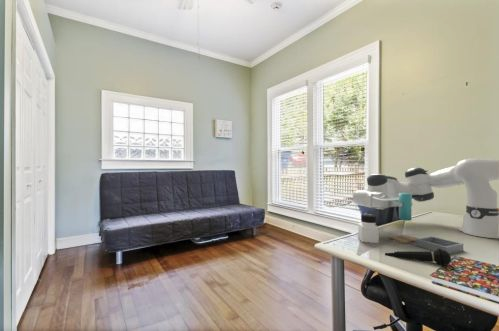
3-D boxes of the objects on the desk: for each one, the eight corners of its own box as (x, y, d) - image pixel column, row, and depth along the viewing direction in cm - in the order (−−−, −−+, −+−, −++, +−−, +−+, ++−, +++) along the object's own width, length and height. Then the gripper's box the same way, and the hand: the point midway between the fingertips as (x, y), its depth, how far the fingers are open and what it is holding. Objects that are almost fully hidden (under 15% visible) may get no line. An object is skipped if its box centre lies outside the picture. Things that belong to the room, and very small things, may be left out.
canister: (403, 217, 117) (403, 192, 117) (413, 220, 112) (414, 194, 112) (396, 218, 115) (396, 193, 115) (406, 220, 110) (407, 194, 110)
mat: (404, 236, 120) (404, 234, 120) (421, 240, 112) (421, 239, 112) (388, 239, 115) (388, 237, 115) (405, 244, 107) (405, 242, 107)
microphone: (386, 264, 92) (453, 270, 82) (384, 251, 91) (452, 255, 81) (385, 256, 97) (449, 260, 87) (383, 243, 95) (448, 245, 86)
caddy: (431, 242, 110) (431, 236, 110) (463, 250, 100) (463, 243, 100) (415, 245, 105) (415, 239, 105) (446, 254, 95) (446, 247, 95)
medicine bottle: (379, 243, 108) (379, 216, 108) (361, 242, 109) (362, 215, 109) (374, 238, 115) (374, 213, 115) (358, 237, 116) (358, 212, 116)
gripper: (393, 205, 130) (420, 210, 117) (366, 207, 121) (392, 212, 109) (393, 193, 130) (421, 196, 117) (366, 195, 121) (392, 198, 109)
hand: (407, 204), depth 113 cm, fingers closed on canister, 5 cm apart
